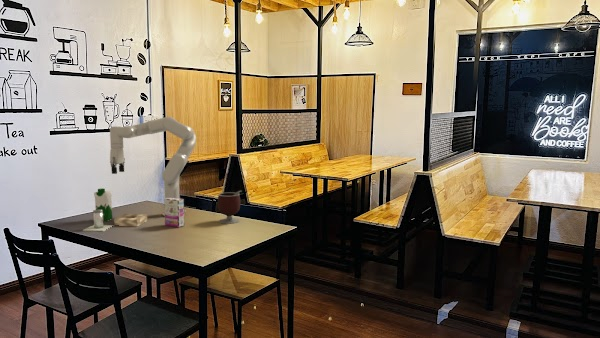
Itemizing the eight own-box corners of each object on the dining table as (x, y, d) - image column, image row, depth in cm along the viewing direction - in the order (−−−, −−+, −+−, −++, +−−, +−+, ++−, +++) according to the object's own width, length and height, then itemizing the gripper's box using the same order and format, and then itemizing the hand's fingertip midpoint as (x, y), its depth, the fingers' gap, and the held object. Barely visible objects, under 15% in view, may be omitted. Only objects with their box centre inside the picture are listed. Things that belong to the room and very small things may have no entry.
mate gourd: (213, 222, 275) (213, 190, 273) (224, 218, 288) (224, 187, 286) (236, 225, 270) (236, 192, 268) (246, 220, 283) (246, 188, 281)
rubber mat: (113, 226, 265) (113, 225, 265) (103, 231, 253) (103, 230, 253) (94, 225, 266) (94, 224, 266) (82, 230, 254) (82, 229, 254)
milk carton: (93, 221, 276) (92, 189, 273) (101, 218, 285) (100, 187, 282) (107, 222, 275) (106, 189, 273) (114, 218, 284) (113, 187, 281)
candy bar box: (184, 226, 267) (184, 198, 265) (178, 227, 262) (178, 200, 261) (170, 223, 272) (170, 197, 270) (164, 225, 268) (163, 198, 266)
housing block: (147, 220, 279) (147, 214, 278) (137, 226, 265) (137, 219, 264) (125, 220, 280) (125, 214, 279) (114, 225, 266) (114, 219, 265)
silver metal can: (105, 226, 262) (104, 209, 261) (101, 228, 257) (100, 210, 256) (96, 226, 262) (95, 209, 261) (92, 228, 257) (91, 211, 256)
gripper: (117, 145, 295) (118, 171, 297) (104, 146, 278) (105, 174, 280) (128, 145, 294) (129, 171, 296) (116, 147, 277) (117, 174, 279)
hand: (118, 172), depth 288 cm, fingers open, 9 cm apart
